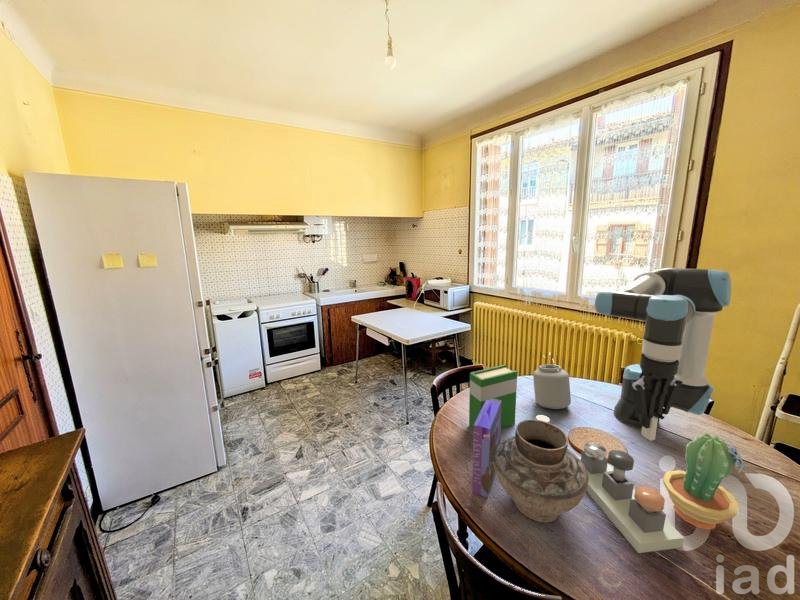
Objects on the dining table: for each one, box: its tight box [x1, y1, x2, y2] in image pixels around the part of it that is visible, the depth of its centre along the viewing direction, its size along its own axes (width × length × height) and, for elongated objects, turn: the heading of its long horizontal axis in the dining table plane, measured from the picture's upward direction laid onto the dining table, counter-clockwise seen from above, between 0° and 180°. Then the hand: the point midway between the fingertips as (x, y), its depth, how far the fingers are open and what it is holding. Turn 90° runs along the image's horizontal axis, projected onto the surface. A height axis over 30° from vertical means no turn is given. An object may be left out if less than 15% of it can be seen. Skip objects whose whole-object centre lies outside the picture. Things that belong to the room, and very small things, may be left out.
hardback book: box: [468, 364, 518, 430], centre depth 129 cm, size 18×7×24 cm, turn 112°
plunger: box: [583, 441, 607, 460], centre depth 102 cm, size 6×6×7 cm
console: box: [577, 448, 685, 554], centre depth 93 cm, size 12×30×8 cm, turn 5°
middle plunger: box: [607, 449, 635, 481], centre depth 91 cm, size 6×6×7 cm
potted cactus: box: [662, 433, 746, 531], centre depth 85 cm, size 15×15×25 cm
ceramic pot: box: [493, 419, 589, 523], centre depth 91 cm, size 25×25×24 cm
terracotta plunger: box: [634, 485, 666, 514], centre depth 82 cm, size 6×6×7 cm
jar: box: [532, 351, 572, 410], centre depth 143 cm, size 19×15×25 cm
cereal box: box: [471, 398, 502, 499], centre depth 102 cm, size 17×5×24 cm, turn 152°
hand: (647, 436), depth 85 cm, fingers closed
